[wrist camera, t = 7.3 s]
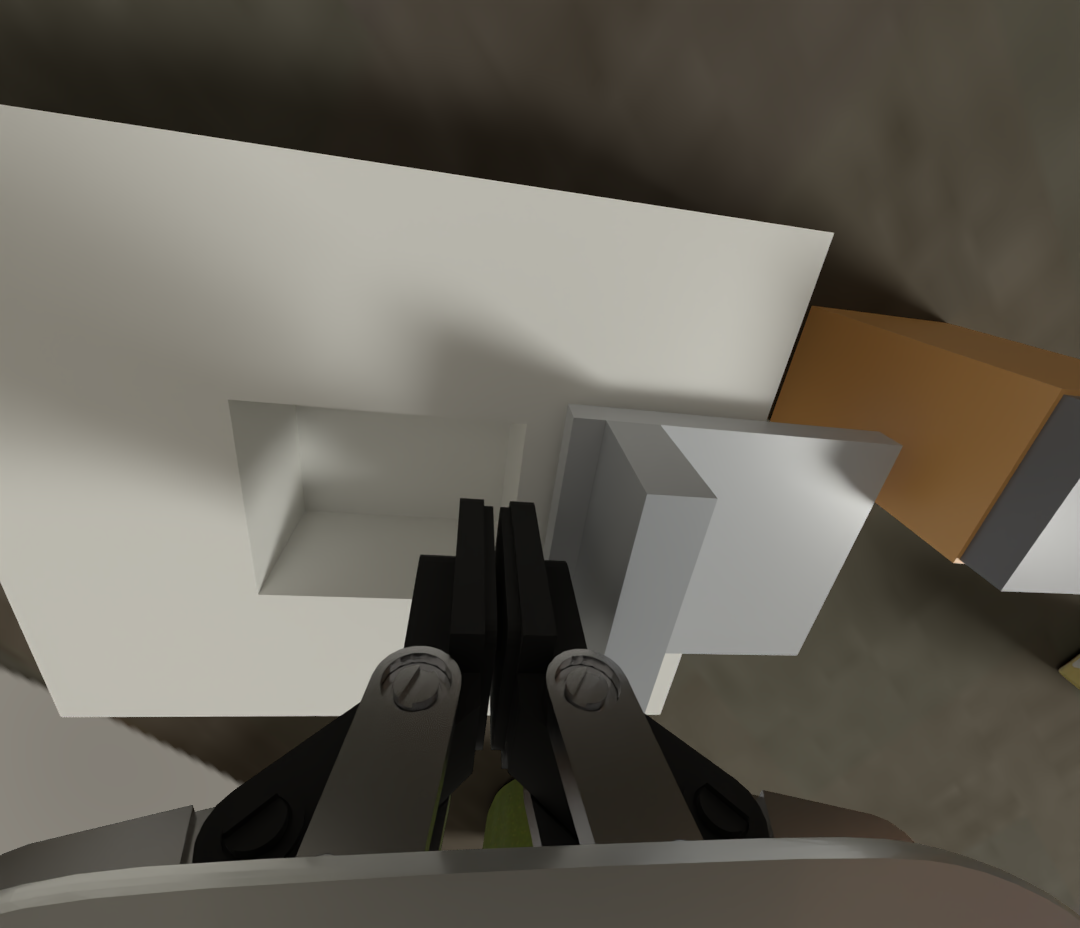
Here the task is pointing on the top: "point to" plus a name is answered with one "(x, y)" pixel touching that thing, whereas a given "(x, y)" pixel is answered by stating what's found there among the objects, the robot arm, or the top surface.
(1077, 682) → the candy box
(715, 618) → the grey block
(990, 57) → the top surface
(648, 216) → the socket
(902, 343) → the tan boxy piece
